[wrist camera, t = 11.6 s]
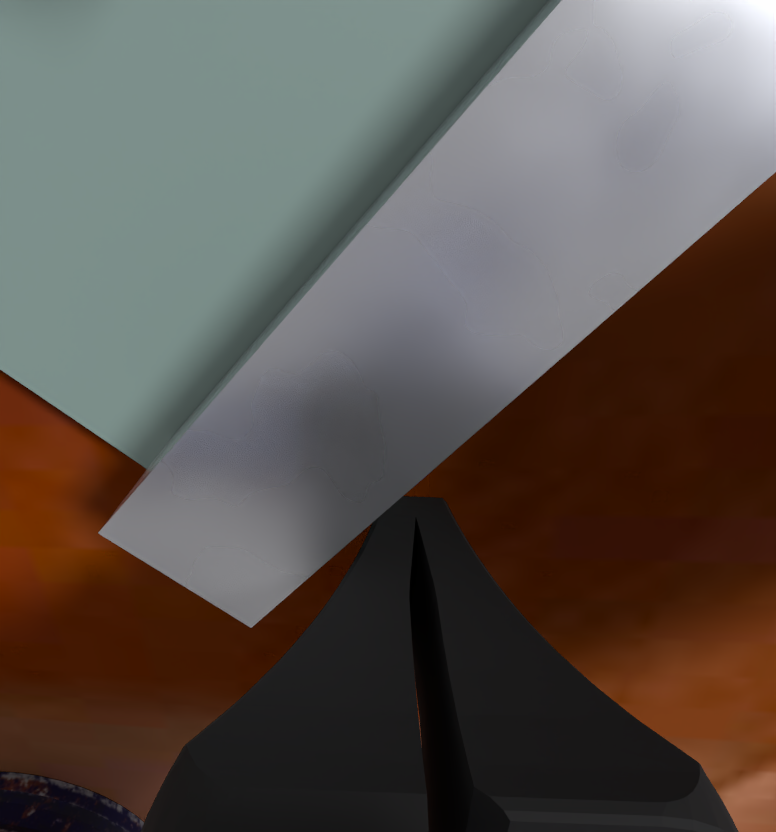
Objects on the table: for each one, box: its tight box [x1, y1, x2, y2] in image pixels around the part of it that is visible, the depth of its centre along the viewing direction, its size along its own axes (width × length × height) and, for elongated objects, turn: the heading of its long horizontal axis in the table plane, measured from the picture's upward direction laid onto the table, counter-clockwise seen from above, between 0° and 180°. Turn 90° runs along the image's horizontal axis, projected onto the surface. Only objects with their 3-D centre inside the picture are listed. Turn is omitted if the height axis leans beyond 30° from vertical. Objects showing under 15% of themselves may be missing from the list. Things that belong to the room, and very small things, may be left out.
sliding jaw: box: [98, 0, 776, 628], centre depth 7 cm, size 3×20×3 cm, turn 137°
